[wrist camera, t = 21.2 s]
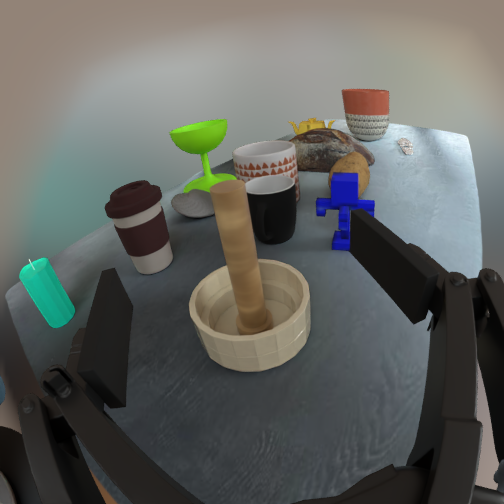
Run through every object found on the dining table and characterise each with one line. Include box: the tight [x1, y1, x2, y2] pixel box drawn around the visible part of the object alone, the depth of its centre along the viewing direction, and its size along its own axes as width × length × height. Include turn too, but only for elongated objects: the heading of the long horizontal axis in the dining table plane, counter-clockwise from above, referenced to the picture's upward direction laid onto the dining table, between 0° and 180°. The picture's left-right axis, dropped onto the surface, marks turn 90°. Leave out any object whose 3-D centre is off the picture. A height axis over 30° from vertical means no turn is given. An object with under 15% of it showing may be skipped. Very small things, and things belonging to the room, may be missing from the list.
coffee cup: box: [105, 180, 173, 274], centre depth 48 cm, size 10×10×15 cm
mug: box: [245, 175, 296, 244], centre depth 51 cm, size 12×9×10 cm
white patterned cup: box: [232, 140, 300, 203], centre depth 65 cm, size 14×14×13 cm
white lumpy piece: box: [398, 138, 413, 155], centre depth 98 cm, size 6×28×1 cm, turn 157°
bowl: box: [189, 259, 311, 372], centre depth 34 cm, size 13×13×6 cm
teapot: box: [289, 118, 336, 135], centre depth 113 cm, size 15×14×10 cm
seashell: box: [171, 189, 215, 218], centre depth 67 cm, size 12×6×10 cm
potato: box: [328, 152, 370, 198], centre depth 62 cm, size 9×16×9 cm, turn 145°
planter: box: [342, 89, 389, 141], centre depth 104 cm, size 20×20×21 cm
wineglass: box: [170, 119, 237, 193], centre depth 79 cm, size 16×16×18 cm
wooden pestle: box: [210, 180, 273, 335], centre depth 31 cm, size 4×4×18 cm
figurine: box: [316, 172, 375, 251], centre depth 46 cm, size 8×8×12 cm
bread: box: [289, 128, 375, 172], centre depth 88 cm, size 27×32×10 cm
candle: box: [19, 257, 75, 328], centre depth 39 cm, size 6×6×12 cm
